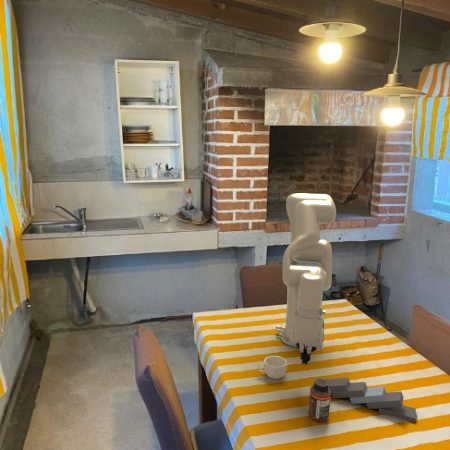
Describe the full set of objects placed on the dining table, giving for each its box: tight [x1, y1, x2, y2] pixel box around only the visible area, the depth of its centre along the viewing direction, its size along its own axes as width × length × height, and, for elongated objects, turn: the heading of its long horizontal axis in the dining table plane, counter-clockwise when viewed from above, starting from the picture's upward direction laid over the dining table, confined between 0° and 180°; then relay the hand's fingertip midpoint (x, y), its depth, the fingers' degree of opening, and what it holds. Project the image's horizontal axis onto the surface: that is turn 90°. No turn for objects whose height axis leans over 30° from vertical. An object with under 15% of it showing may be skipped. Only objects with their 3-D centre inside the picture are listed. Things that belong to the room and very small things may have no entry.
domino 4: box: [365, 390, 404, 410], centre depth 123 cm, size 2×5×10 cm
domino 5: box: [378, 405, 417, 424], centre depth 122 cm, size 2×5×10 cm
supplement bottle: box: [308, 377, 332, 423], centre depth 119 cm, size 6×6×11 cm
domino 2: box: [331, 381, 368, 399], centre depth 128 cm, size 2×5×10 cm
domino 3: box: [349, 386, 387, 405], centre depth 126 cm, size 2×5×10 cm
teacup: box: [257, 355, 288, 380], centre depth 140 cm, size 10×8×5 cm
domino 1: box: [324, 376, 351, 392], centre depth 131 cm, size 2×5×10 cm
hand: (305, 362), depth 134 cm, fingers closed
